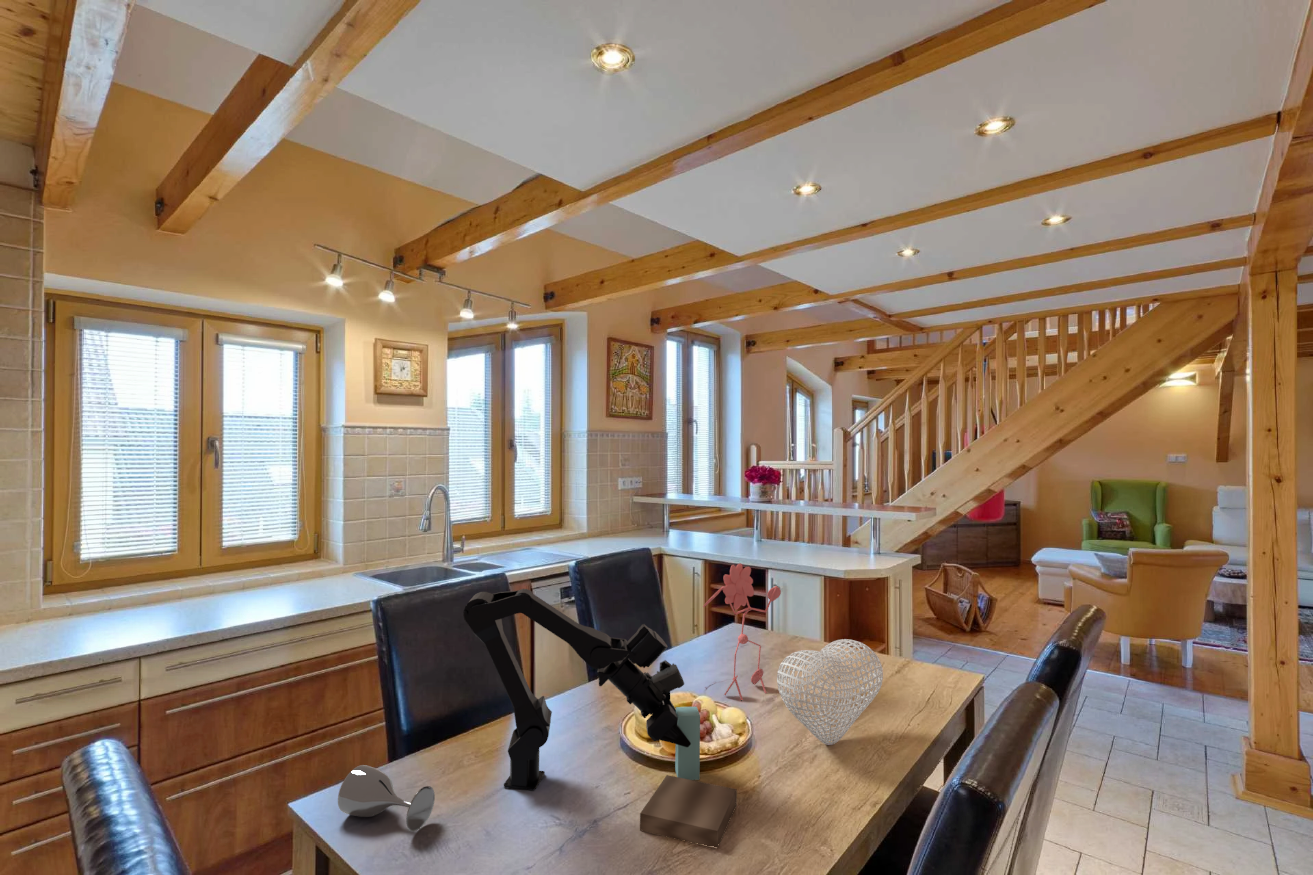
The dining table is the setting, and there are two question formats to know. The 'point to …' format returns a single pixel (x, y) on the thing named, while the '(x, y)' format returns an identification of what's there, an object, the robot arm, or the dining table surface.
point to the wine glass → (381, 797)
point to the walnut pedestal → (689, 811)
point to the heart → (827, 655)
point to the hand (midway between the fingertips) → (686, 735)
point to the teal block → (690, 756)
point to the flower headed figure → (737, 593)
